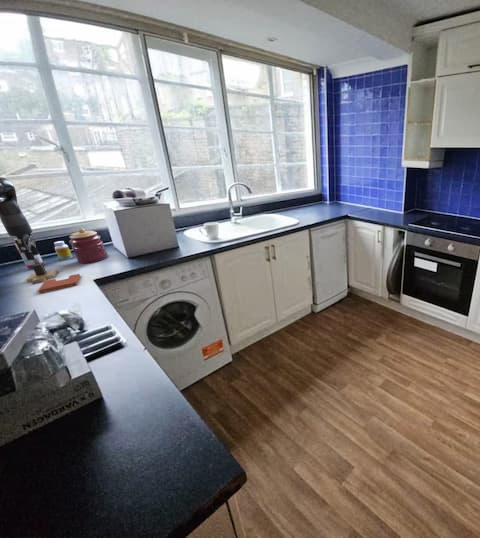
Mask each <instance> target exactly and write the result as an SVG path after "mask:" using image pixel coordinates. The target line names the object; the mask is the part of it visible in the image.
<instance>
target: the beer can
mask: <svg viewBox="0 0 480 538" xmlns="http://www.w3.org/2000/svg"><path fill="white" fill-rule="evenodd" d="M15 240H17V237H16V238H14V243H13V244H14V245H15V248H16V249H17V251H18V253H19V254H20V256H21V258H22V261H23V262H24V264H25V266H26V268H27V269H30V270H33V268H32V266H33V264H39V263H42V264H43V266H44V265H45V263H44V261H43V258H42V257H41V255H40V253H39V254H38V255H33V256H34V258H35V259H34V260H27V258H26V256H25V254H24V253H21V252H20V250H19V248H18V246H17V244H16V242H15ZM21 245H22V244H21ZM25 249H26V248H25ZM25 249H24V250H25Z"/></svg>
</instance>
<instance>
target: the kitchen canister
mask: <svg viewBox="0 0 480 538" xmlns="http://www.w3.org/2000/svg"><path fill="white" fill-rule="evenodd" d="M68 238H70V240H69V241H68V242H69V244H70V245H71V249H72V250H73V252H74V255H75V257H76V261H78V263H80V264H90V263H95V262H99V261H102V260H105V259H106V258H108V252H107V250H106V247H105V245H104V242H103V241H102V239H101V235H98V232H97V231H95V230H85V228H83V227H82V228H79V229H77V231H76V232H74V233H71V235H70V236H68Z"/></svg>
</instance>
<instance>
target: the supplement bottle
mask: <svg viewBox="0 0 480 538" xmlns="http://www.w3.org/2000/svg"><path fill="white" fill-rule="evenodd" d="M53 244H54V249H55V252H56V254H57V256H58V259H59V260H60V261H66V260H69V259H72V258H73V257H74V255H73V254H72V252H71V249H70V247H69V245H68V244H65V241H64V240H58V241H55V242H53Z"/></svg>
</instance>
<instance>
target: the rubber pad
mask: <svg viewBox="0 0 480 538" xmlns="http://www.w3.org/2000/svg"><path fill="white" fill-rule="evenodd" d="M80 278H81V275H80V273H76V274H71V275H68V278H63V279H59V280H57V279H56V278H50V279H46V281H44V282H42V284H41V286H40V287H39V289H38V292H39V294H42V293H47V292H52V291H57V290H61V289H65V288H71V287H74V286H75V287H76V286H78V283H79V281H80Z"/></svg>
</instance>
